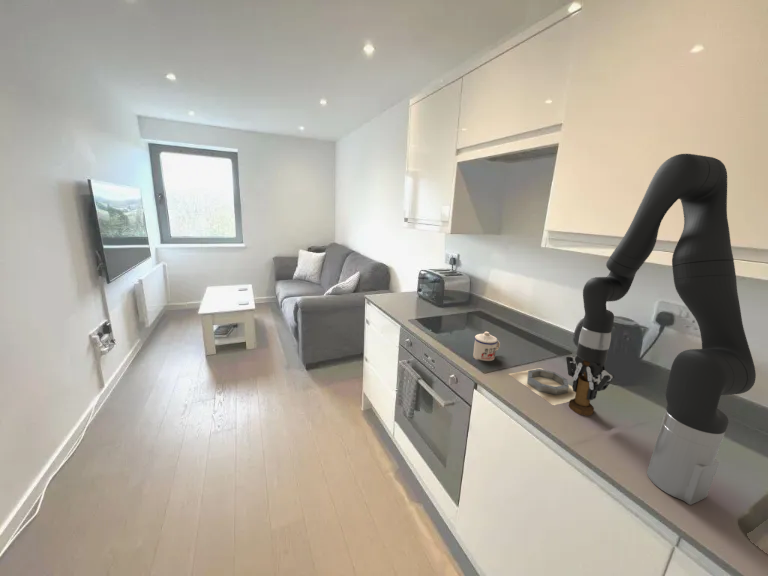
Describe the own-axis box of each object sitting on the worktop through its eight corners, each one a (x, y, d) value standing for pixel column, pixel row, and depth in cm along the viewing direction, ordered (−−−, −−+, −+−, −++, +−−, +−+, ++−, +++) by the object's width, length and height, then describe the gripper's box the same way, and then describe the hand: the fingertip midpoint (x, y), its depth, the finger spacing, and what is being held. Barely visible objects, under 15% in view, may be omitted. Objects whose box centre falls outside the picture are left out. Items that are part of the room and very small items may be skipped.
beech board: (588, 399, 102) (589, 396, 102) (552, 408, 96) (553, 405, 96) (540, 370, 120) (540, 367, 120) (507, 376, 114) (508, 373, 114)
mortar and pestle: (591, 420, 91) (602, 364, 87) (566, 412, 94) (576, 358, 91) (593, 410, 96) (603, 357, 92) (569, 402, 100) (578, 351, 96)
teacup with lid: (481, 364, 123) (485, 337, 120) (468, 354, 131) (470, 329, 128) (505, 360, 127) (509, 334, 124) (490, 351, 135) (493, 326, 132)
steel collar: (575, 391, 104) (576, 384, 104) (547, 397, 100) (549, 390, 99) (545, 373, 116) (546, 367, 115) (519, 378, 111) (520, 372, 111)
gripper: (627, 352, 85) (615, 406, 89) (580, 333, 98) (571, 381, 102) (609, 355, 82) (597, 411, 86) (563, 335, 95) (554, 385, 99)
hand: (583, 395), depth 94 cm, fingers closed on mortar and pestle, 4 cm apart
